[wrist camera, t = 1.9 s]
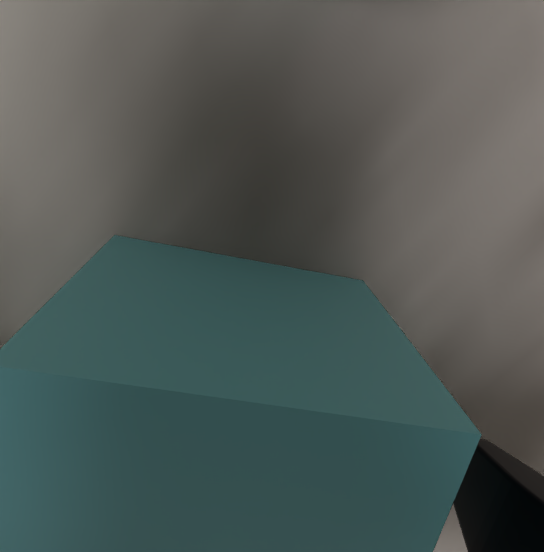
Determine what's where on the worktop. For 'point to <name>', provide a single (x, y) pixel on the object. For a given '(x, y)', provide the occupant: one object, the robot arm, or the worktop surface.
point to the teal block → (221, 414)
